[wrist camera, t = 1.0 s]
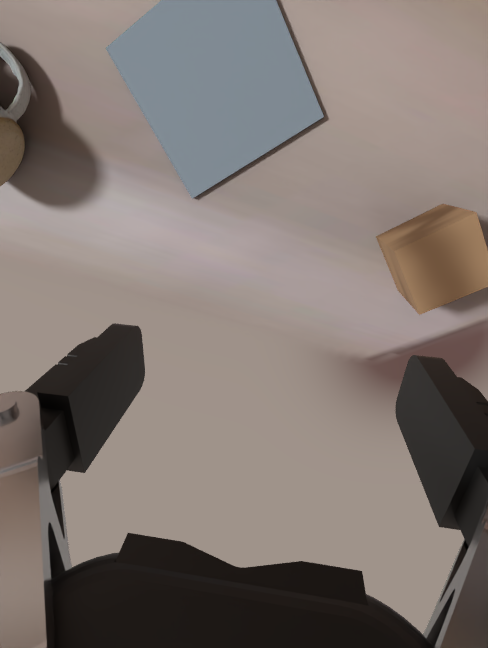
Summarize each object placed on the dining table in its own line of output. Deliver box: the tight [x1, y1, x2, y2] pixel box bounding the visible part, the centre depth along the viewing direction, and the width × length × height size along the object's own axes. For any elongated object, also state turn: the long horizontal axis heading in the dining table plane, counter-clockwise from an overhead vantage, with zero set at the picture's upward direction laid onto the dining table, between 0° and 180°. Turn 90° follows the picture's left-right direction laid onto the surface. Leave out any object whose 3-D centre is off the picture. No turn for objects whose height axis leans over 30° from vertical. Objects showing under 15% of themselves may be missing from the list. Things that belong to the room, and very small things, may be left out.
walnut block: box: [376, 204, 488, 315], centre depth 27 cm, size 6×6×6 cm
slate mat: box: [106, 0, 324, 199], centre depth 26 cm, size 12×12×1 cm
